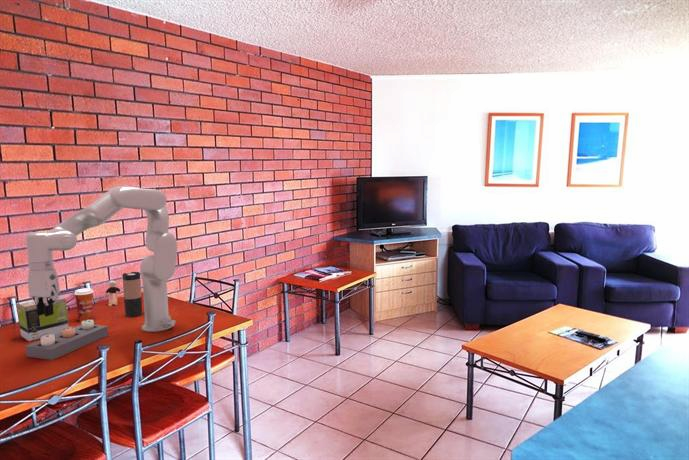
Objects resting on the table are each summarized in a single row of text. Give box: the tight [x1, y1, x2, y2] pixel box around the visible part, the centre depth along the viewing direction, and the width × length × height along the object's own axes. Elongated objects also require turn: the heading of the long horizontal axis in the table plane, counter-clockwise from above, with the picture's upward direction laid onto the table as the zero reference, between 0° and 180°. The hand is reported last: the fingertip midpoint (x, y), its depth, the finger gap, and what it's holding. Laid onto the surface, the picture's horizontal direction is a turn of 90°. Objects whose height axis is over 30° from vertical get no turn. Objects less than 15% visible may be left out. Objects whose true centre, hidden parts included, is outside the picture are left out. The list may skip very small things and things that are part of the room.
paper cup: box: [73, 287, 94, 322], centre depth 210 cm, size 8×8×14 cm
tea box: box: [16, 295, 70, 342], centre depth 191 cm, size 15×10×15 cm
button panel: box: [25, 324, 109, 361], centre depth 179 cm, size 12×26×4 cm, turn 163°
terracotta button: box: [62, 326, 76, 339], centre depth 179 cm, size 4×4×4 cm
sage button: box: [80, 319, 95, 331], centre depth 187 cm, size 4×4×4 cm
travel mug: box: [122, 271, 143, 318], centre depth 216 cm, size 8×8×20 cm
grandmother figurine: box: [104, 280, 122, 307], centre depth 233 cm, size 8×4×13 cm, turn 132°
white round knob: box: [40, 334, 56, 347], centre depth 170 cm, size 4×4×4 cm
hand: (45, 314), depth 169 cm, fingers open, 2 cm apart
